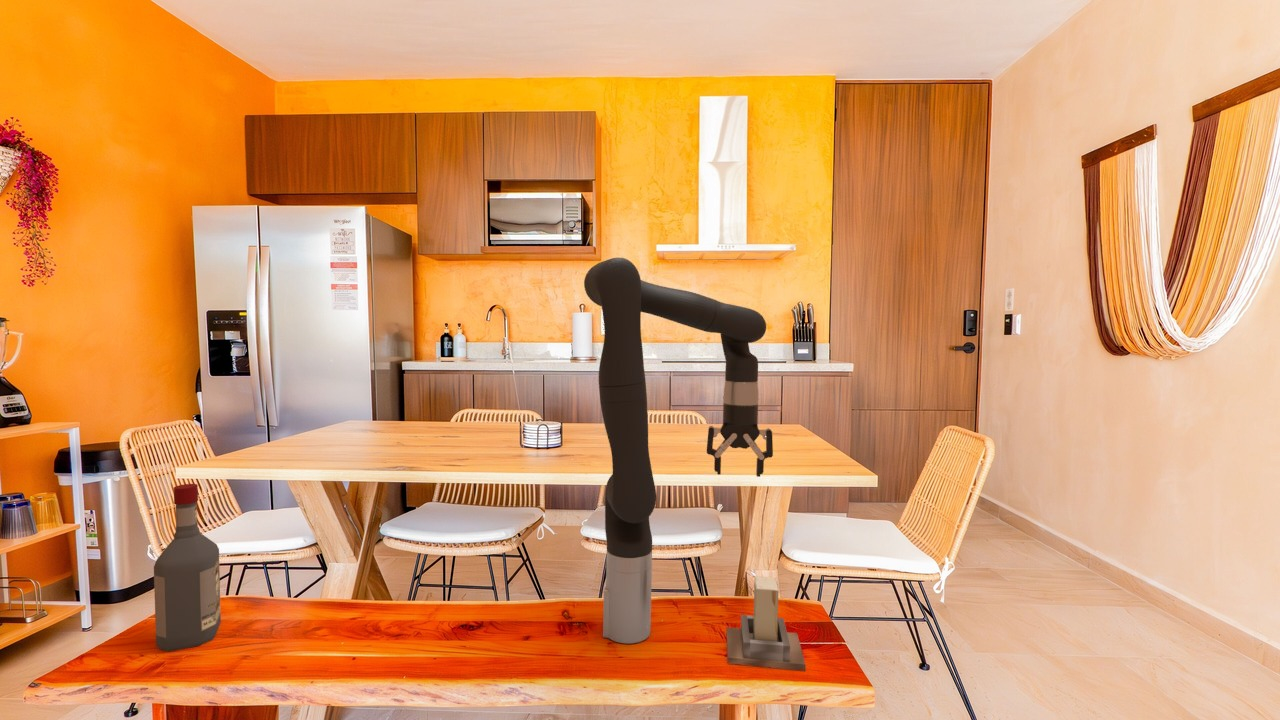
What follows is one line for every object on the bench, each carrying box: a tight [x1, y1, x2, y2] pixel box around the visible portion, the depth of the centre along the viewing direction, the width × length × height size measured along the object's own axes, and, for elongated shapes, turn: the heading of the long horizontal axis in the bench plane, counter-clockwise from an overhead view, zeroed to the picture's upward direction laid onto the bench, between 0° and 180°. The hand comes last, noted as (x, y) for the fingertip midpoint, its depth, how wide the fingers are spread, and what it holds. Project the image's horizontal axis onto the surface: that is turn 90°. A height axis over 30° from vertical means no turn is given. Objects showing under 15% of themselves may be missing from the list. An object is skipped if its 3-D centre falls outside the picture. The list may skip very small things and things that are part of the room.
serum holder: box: [726, 614, 806, 672], centre depth 112 cm, size 14×11×4 cm
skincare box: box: [753, 575, 780, 642], centre depth 112 cm, size 6×4×12 cm
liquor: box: [153, 483, 222, 652], centre depth 112 cm, size 9×9×30 cm
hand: (738, 474), depth 127 cm, fingers open, 8 cm apart
